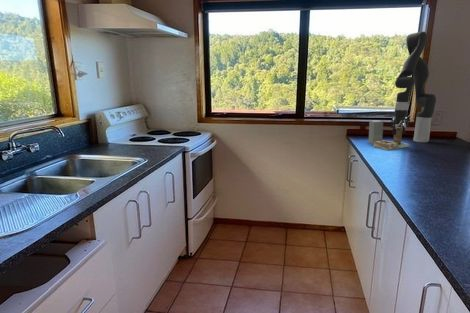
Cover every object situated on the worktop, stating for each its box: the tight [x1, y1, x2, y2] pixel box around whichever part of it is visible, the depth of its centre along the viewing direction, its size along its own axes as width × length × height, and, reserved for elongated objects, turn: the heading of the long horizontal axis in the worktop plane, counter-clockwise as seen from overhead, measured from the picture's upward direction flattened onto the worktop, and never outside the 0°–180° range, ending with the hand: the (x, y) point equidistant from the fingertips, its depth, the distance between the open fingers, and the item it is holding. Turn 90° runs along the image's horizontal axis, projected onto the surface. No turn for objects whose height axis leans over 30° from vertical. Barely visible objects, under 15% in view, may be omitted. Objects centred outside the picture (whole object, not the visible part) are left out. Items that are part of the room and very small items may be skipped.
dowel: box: [392, 126, 403, 145], centre depth 211 cm, size 4×4×12 cm
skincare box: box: [368, 119, 384, 145], centre depth 219 cm, size 8×7×16 cm
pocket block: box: [373, 139, 399, 151], centre depth 207 cm, size 10×10×4 cm
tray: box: [397, 142, 410, 149], centre depth 212 cm, size 10×10×2 cm
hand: (398, 134), depth 210 cm, fingers open, 8 cm apart
